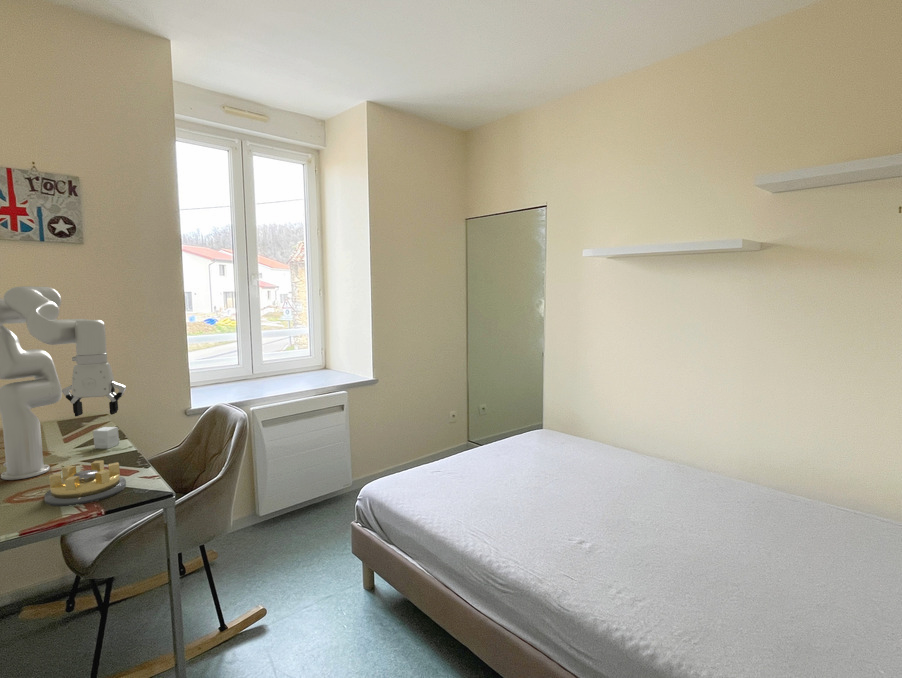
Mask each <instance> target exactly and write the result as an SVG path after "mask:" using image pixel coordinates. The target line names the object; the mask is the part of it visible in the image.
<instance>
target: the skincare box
mask: <svg viewBox="0 0 902 678" xmlns="http://www.w3.org/2000/svg"><path fill="white" fill-rule="evenodd" d="M92 433H93V444H94V445H93V446H94V449H110V448H113V447H116V446H119V445H120V438H119V437H120V436H119V427H118V426H103V427H101V428H97V429H94V430H92Z"/></svg>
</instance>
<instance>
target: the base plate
mask: <svg viewBox="0 0 902 678" xmlns="http://www.w3.org/2000/svg"><path fill="white" fill-rule="evenodd" d="M126 486H127V482H126V478H124V477H123V476H120V482H119V484H118V485H116V486H115V487H113V488H111V489H108V490H106V491H103V492H100V493H96V494H92V495H88V496H83V497H76V498H56V497H53V496H51V489H50V490H48V491H46V493H45V494H44V503H45V504H46V505H48V506H53V507H68V506H69V505H72V506H77V505H76V504H79V505H84V504H89V503H93V502H98V501H100V500H101V501H102V500H104V499H107V498H110V497H112V496H114V495H117V494H119V493H120V492H122V491H123V490H124V489H125V488H126ZM69 507H70V506H69Z"/></svg>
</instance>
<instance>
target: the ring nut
mask: <svg viewBox="0 0 902 678" xmlns="http://www.w3.org/2000/svg"><path fill="white" fill-rule="evenodd" d="M104 463H105V462H104V459H103V460H94V461H93V462H91V463H90V466H91V467H90V468H91V469H88V470H81V471H79V472H77V466H76V465H66V466H64V467H61V472H62V473H60V472H59V473H55V474H50V475H48V477H49V485H50V486H49V488H50V490H51V496H53V497H56V498H76V497H83V496H88V495H92V494H96V493H100V492H103V491H106V490H108V489H111V488H113V487H115V486H116V485H118V484H119V482H120V477H121V476H120V473H121V472H120V463H119V462H113V463H108V464H107V465H108V469H107V468H105V464H104Z"/></svg>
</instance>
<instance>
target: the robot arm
mask: <svg viewBox="0 0 902 678" xmlns="http://www.w3.org/2000/svg"><path fill="white" fill-rule="evenodd" d="M61 304H62V297H61V295H60V293H59V292H58V291H57V290H56V289H55V288H53V287H50V286H49V287H48V286H30V285H29V286H26V285H25V286H15V287H12V288H9V289H8V290H7V291H6V292H5V293H4V296H3V298H0V380H4V381H6V380H7V381H9V380H19V379H25V378H34V379H32V380H31V379H30V380H22V381H16V382H10V383H7V384H4V385H2V386H1V387H0V418H1V425H2V434H3V444H4V456H5V462H3V464H2V465H3V466H2V467H5V469H6V471H3V472H2V473H1V474H0V478H1V480H6V481H7V480H8V481H14V480H21V479H22V480H23V479H28V478H34V477H36V476H40V475H43V474H44V473H47V472H48V471H50V465H49V464H45V463H44V456H43V455H44V454H43V453H44V452H43V441H42V431H41V430H42V429H41V428H42V427H41V422H40V418H39V417H38V416H37V415H36V414H35V413H34V412H33V411H32V410H31V409H35V408H39V407H45V406H49V405H54V404H57V403H58V402H59V401H61V399H62V397H63V395H64V396H65V399H67V400H68V401H69V403H70V404H72V409H73V410H72V411H73V414H74V416H75V417H79V416H81V415H83V414H84V411H83V409H84V408H83V402H82V401H81V400H82V399H84V398H85V399H86V398H104V397H106V398H107V399H108V400H109V402H108V405H109V415H115V414H117V413H118V410H119V404H118V403H119V402H118V400H120V398H122V396H124V394H125V391H126V390H127V386H126V385H124V384H121V383H118V382H117V381H115V377H114V374H113V369H112V366H111V364H110V362H108V353H107V352H108V351H107V339H106V338H107V337H106V336H107V335H106V324H105V322H104V321H103V320H101V319H87V318H74V319H73V318H69V319H68V318H66V319H64V318H63V319H58V317H59V315H60V307H61ZM6 324H8V325H9V324H11V325H12V324H13V325H14V324H26V328H27V330H28V332H29V334H30V335H31V336H32V337H33V338H35V339H36V340H38V341H40V342H42V343H43V344H46V345H50V346H55V345H66V344H67V345H68V344H75V351H76V354H75V356H73V357H72V358H71V359H72V362H76V365H74V366H73V370H72V378H71V384H70V385H68V386H66V387H65V388H62V385H61V382H60V379H59V376H58V375H59V374H58V372H57V368H56V366H55V362H54V360H53V357H52V356H51V355H50V353H48V352H47V351H46V350H44V349H37V348H34V349H32V348H31V349H23V348H22V346H21V344H20V342H21V341H20V340H19V337H18V336H17V334H15V333H14V332H13V331H12V330H10V329H9V328H8V327H6V326H4V325H6ZM116 389H118V391H117V393H116ZM71 391H72V392H71Z"/></svg>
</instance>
